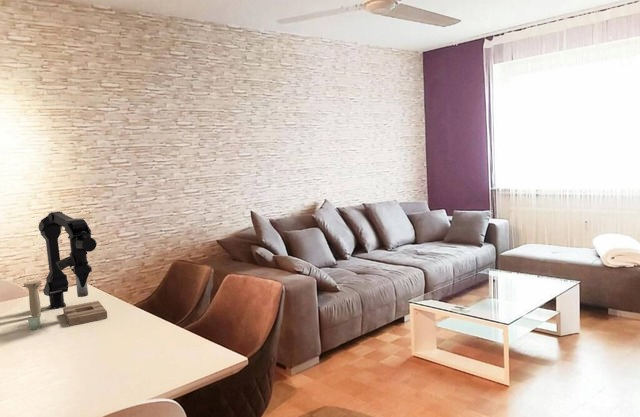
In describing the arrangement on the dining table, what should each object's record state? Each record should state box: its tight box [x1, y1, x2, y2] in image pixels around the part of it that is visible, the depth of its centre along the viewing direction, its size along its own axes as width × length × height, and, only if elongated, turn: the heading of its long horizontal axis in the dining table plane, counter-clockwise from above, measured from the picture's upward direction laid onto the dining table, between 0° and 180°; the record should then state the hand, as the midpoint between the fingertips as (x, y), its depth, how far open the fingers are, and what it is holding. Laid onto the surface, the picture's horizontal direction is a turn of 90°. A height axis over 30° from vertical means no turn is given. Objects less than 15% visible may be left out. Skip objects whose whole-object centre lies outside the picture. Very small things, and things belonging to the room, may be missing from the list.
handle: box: [23, 280, 42, 318], centre depth 205 cm, size 5×6×15 cm
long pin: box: [75, 275, 89, 298], centre depth 202 cm, size 4×4×10 cm
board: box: [62, 300, 108, 327], centre depth 203 cm, size 20×14×3 cm
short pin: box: [27, 316, 42, 331], centre depth 191 cm, size 4×4×4 cm
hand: (82, 286), depth 202 cm, fingers closed on long pin, 4 cm apart
